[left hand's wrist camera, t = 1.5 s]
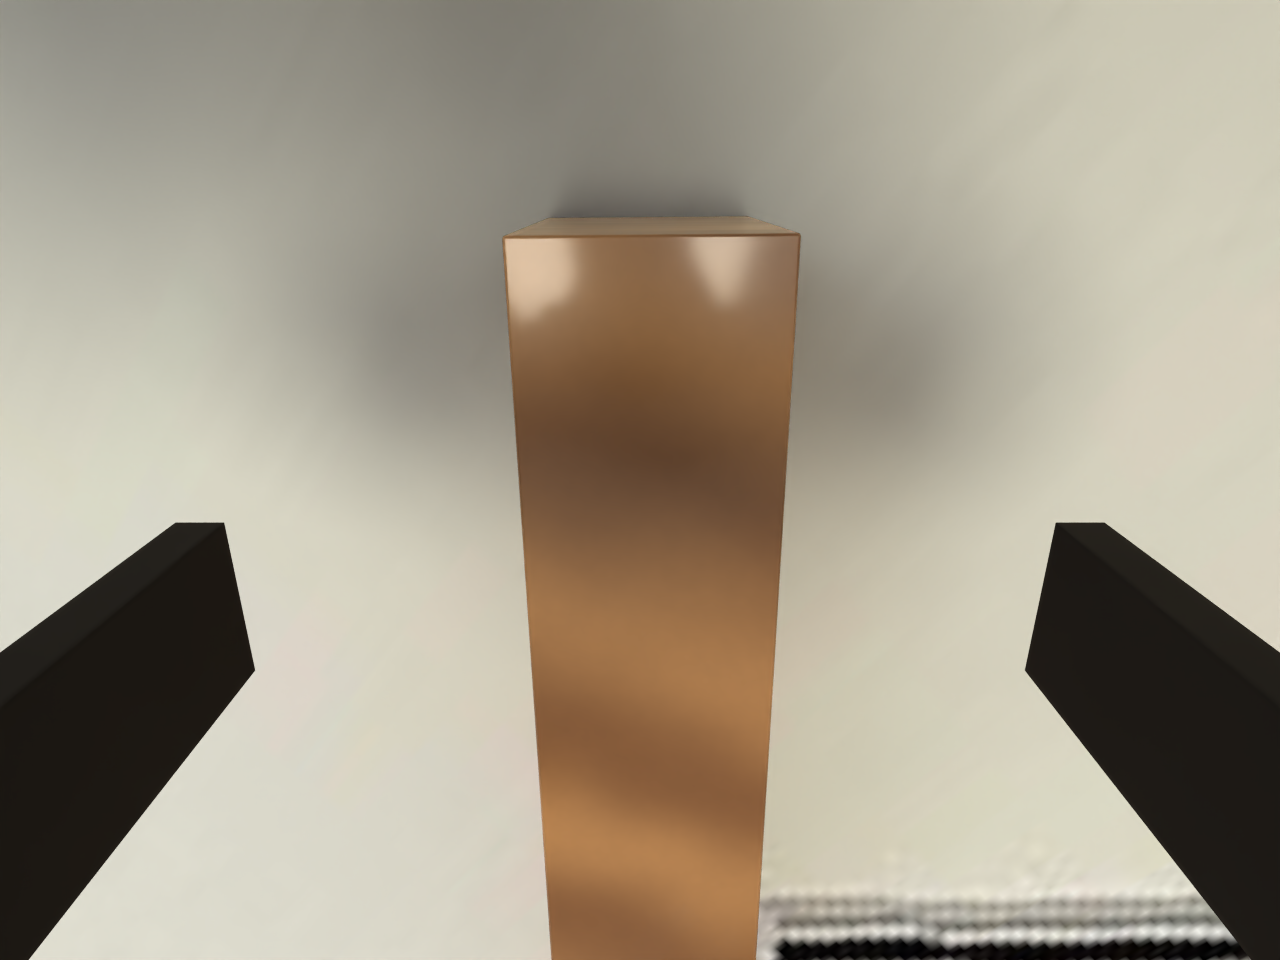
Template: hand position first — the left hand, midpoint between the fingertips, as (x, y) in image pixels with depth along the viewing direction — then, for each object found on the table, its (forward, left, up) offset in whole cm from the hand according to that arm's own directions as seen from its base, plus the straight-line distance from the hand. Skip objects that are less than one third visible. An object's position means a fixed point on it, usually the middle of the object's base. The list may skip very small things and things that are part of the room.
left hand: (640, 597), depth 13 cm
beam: (+34, 0, -12) cm, 36 cm away
